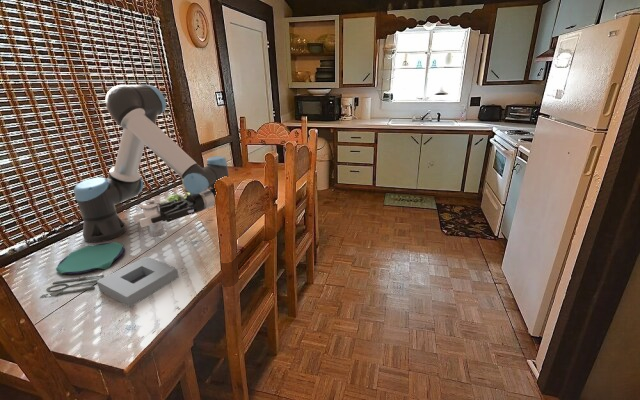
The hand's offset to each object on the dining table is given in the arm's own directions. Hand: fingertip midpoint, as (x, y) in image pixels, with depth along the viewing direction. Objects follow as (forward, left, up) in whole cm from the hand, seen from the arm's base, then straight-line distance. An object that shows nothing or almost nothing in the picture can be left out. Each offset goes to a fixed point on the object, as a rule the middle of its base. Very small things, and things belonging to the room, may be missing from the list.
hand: (137, 221), depth 102 cm
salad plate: (-41, +44, -17) cm, 63 cm away
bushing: (+1, +5, -7) cm, 9 cm away
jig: (+10, -9, -16) cm, 21 cm away
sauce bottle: (-52, +60, -16) cm, 81 cm away
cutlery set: (-16, -12, -17) cm, 26 cm away
